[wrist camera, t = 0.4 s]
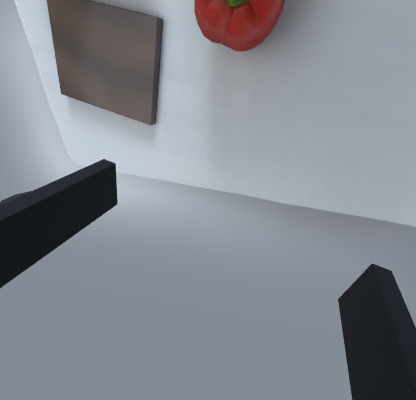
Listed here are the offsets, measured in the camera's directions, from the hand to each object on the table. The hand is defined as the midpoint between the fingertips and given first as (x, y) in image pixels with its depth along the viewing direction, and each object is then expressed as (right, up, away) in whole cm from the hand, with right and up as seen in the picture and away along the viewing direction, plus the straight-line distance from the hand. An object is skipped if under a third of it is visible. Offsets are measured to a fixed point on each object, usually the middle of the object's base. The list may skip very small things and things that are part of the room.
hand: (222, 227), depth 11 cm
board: (-18, +25, +26) cm, 40 cm away
